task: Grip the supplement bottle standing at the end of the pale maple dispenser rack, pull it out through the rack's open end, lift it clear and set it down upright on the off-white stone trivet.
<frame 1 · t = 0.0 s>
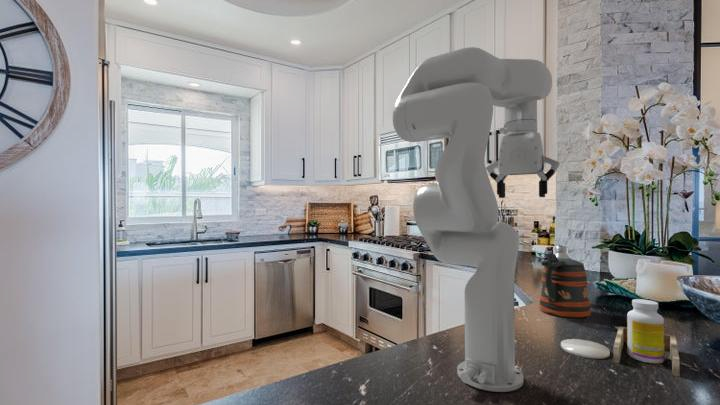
hand: (521, 197, 93), 37 cm above the worktop, tool pointing down, fingers open, 9 cm apart
plastic bottle: (561, 302, 132), on the worktop
beer stein: (562, 314, 117), on the worktop
supplement bottle: (645, 359, 83), resting in rack
trivet: (584, 350, 88), on the worktop
rack: (645, 356, 84), on the worktop
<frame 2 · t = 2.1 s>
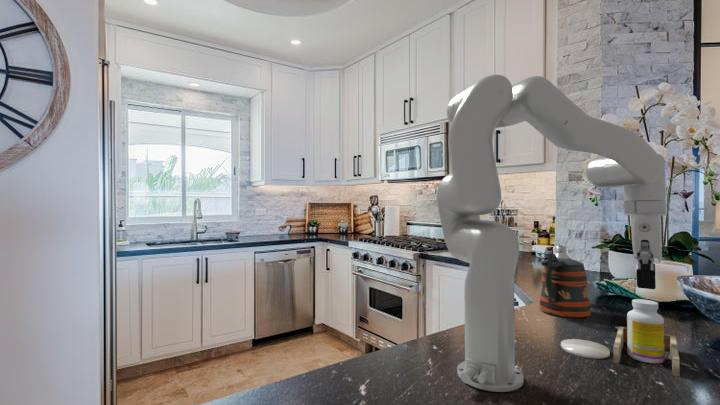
hand: (646, 284, 83), 17 cm above the worktop, tool pointing down, fingers open, 9 cm apart
nothing on the worktop moved.
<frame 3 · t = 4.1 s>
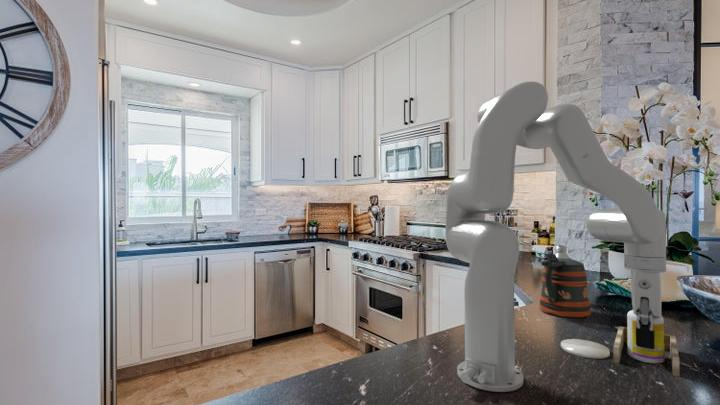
hand: (645, 341, 83), 4 cm above the worktop, tool pointing down, fingers closed on supplement bottle, 6 cm apart
supplement bottle: (645, 359, 83), resting in rack, touching gripper
everything else where it was.
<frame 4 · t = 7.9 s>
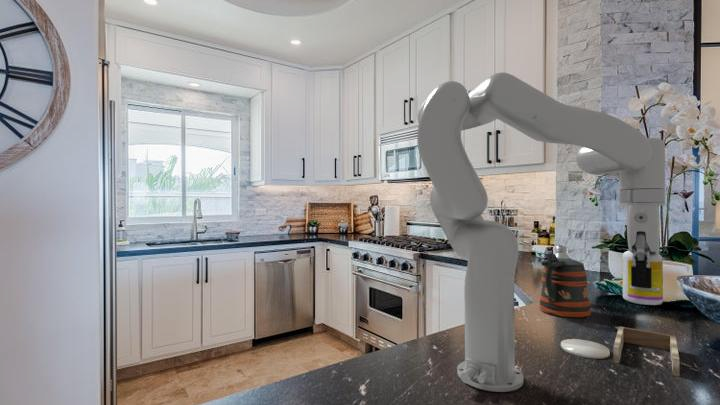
hand: (641, 283, 76), 18 cm above the worktop, tool pointing down, fingers closed on supplement bottle, 6 cm apart
supplement bottle: (642, 302, 76), point 14 cm above the worktop, touching gripper
everything else where it was.
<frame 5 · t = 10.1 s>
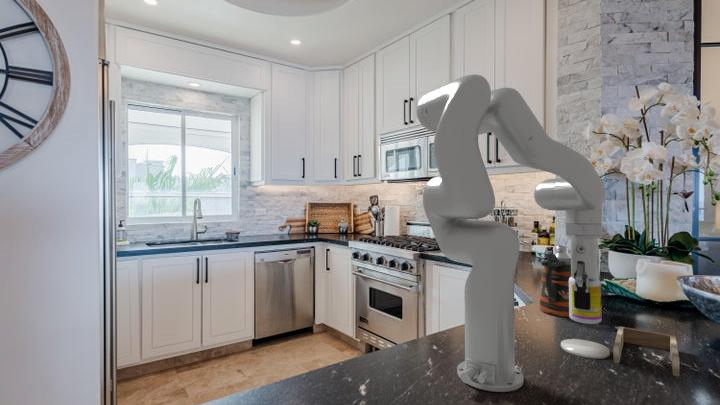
hand: (584, 304, 88), 11 cm above the worktop, tool pointing down, fingers closed on supplement bottle, 6 cm apart
supplement bottle: (585, 321, 88), point 7 cm above the worktop, touching gripper
everything else where it was.
when the fingers open (5 cm above the worktop, at t = 12.1 s): supplement bottle stays where it is, resting on trivet.
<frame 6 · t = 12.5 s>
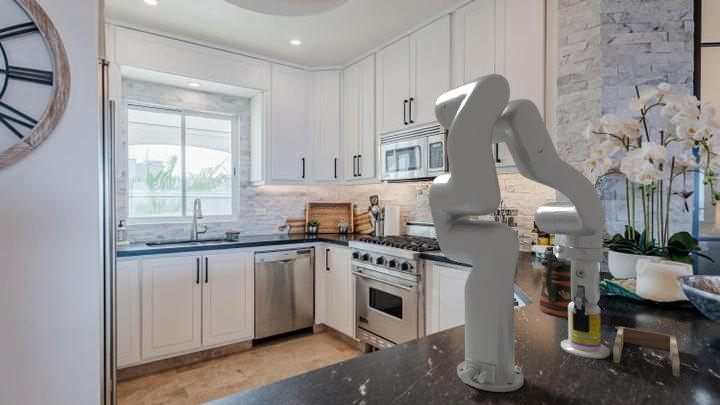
hand: (584, 325, 88), 6 cm above the worktop, tool pointing down, fingers open, 9 cm apart
supplement bottle: (584, 347, 88), point 1 cm above the worktop, touching trivet
everything else where it was.
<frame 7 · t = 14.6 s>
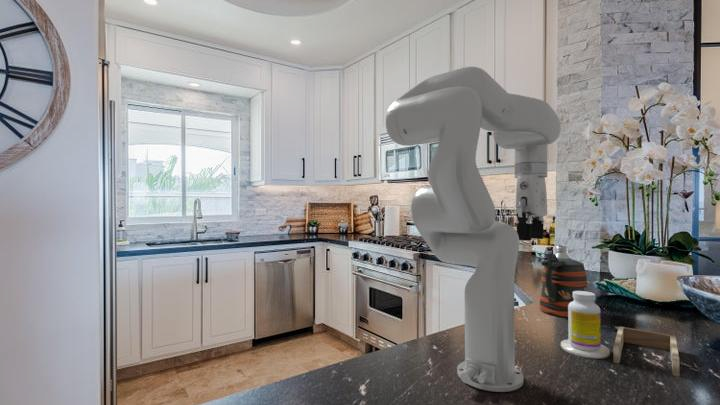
hand: (530, 239, 92), 26 cm above the worktop, tool pointing down, fingers open, 9 cm apart
nothing on the worktop moved.
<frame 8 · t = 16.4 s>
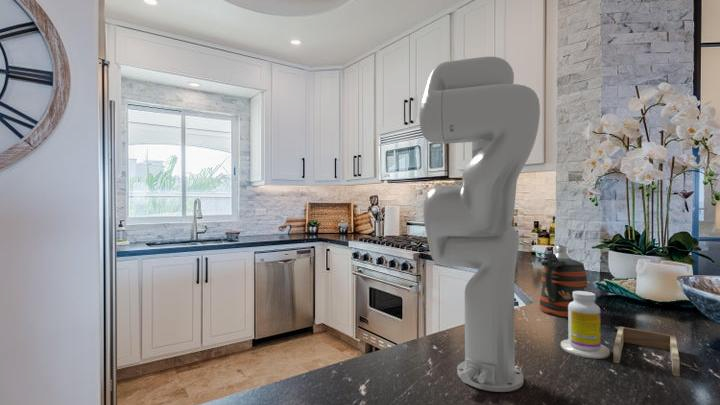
hand: (487, 222, 96), 30 cm above the worktop, tool pointing down, fingers open, 9 cm apart
nothing on the worktop moved.
at the end: supplement bottle 0.1 cm from the trivet (horizontally); supplement bottle tilted 0°; supplement bottle point 0.6 cm above the worktop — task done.
